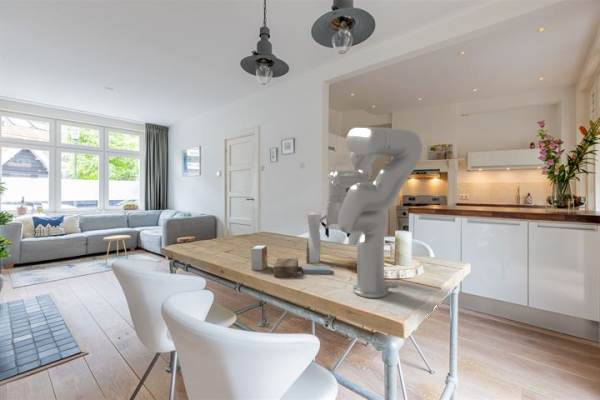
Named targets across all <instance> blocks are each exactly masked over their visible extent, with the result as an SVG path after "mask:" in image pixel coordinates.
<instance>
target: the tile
mask: <svg viewBox="0 0 600 400" xmlns="http://www.w3.org/2000/svg"><path fill="white" fill-rule="evenodd" d="M302 271H303V273H302V274H303V275H331V266H329V265H328V266H327V265H304V266H303V268H302Z"/></svg>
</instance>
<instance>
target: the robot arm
mask: <svg viewBox="0 0 600 400" xmlns="http://www.w3.org/2000/svg"><path fill="white" fill-rule="evenodd" d="M345 145H346V148H347V150H348V151H350V152H351V153H350V156H349V160H350V162H351V164H352V166H354V168H356V169H357V170H355V169H352V170H351V169H348V170H347V169H345V170H342V169H340V170H339V169H338V170H336V171H332V172H330V173H329V174H328V196H329V197H328V202H326V203H327V204H326V214H325V215H323V216H321V218H320V219H319V221H320V225H322V227H324V229H325V233H324V234H325V235H324V236H326V238H329V237H330V232H329V231H330V228H329V227H330V225H337V226H338V228H339V230H340V231H341V232H342V233H346V237H347V238H349V237H350V236H351V234H358V233H359V234H360V235H359V238H358V240H357V243H356V279H357V280H356V284H354V286H352V292H353V293H354V294H356V295H358V296H360V297H363V298H369V299H370V298H371V299H376V298H377V299H378V298H385V297H387V296H388V295H389V289H390V288H392V289H398V288H399V284H398V281H397V282H393V281H392V280H388V281H387V280H386V279H385V267H384V266H385V263H384V261H385V255H384V254H385V232H386V227H387V213H386V211H387V210H389V209H390V208H391V207H392V206H393V204H394V202H395V201H396V199H397V197H398V195H399V193H400V192H401V190H402V188H403V186H404V184H405V182H406V181H407V180H408V178H409V177H410V175H411V174H412V173H413V171H414V170H415V169H416V168H417V166H418V164H419V162H420V159H421V156H422V153H423V152H422V151H423V148H422V147H423V146H422V141H421V138H420V136H419V135H418V134H417V133H416V132H414V131H411V130H408V129H404V128H403V129H402V128H392V127H391V128H390V127H389V128H386V127H377V126H376V127H371V126H354V127H352V128H351V129H350V130H349V132H348V133H347V135H346V138H345ZM378 157H385V158H386V157H387V158H390V157H391V158H392V159H391V160H389V161H388V162H386V163H385V165H383V167H381V169H380V170H379V171H378V174H377V176H376V177H375V179H374V180H373V181H371V182H368V181H369V180H370V178H371V176H372V171H373V170H372V169H373V167H372V163H373V162H374V161H375V160H376V159H377V158H378ZM348 188H349V189H348ZM347 189H348V190H347ZM346 190H347V192H346ZM325 219H326V220H325ZM324 220H325V221H326V223H325V222H324Z"/></svg>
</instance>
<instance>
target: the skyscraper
mask: <svg viewBox="0 0 600 400" xmlns="http://www.w3.org/2000/svg"><path fill="white" fill-rule="evenodd" d="M312 211H313V212H312ZM310 212H311V213H310ZM306 215H307V224H308V231H309V232H308V239H307V240H306V241H307V242H306V256H305V258H306V259H305V260H306V264H309V265H310V264H318V265H320V263H321V261H320V260H321V246H322V245H321V242H322V241H321V232H320V226H321V223H320V221H319V219H320V218H321V217H322V213H321V212H316V209H314V208H313V209H309V211H308V212H307V213H306Z"/></svg>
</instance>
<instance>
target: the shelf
mask: <svg viewBox="0 0 600 400" xmlns="http://www.w3.org/2000/svg"><path fill="white" fill-rule="evenodd" d="M298 270H302V271H303V266H299V258H277V259H276V262H275V263H274V266H273V278H282V277H283V278H284V277H285V278H296V277H298V276H302V274H303V273H302V271H298Z"/></svg>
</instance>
